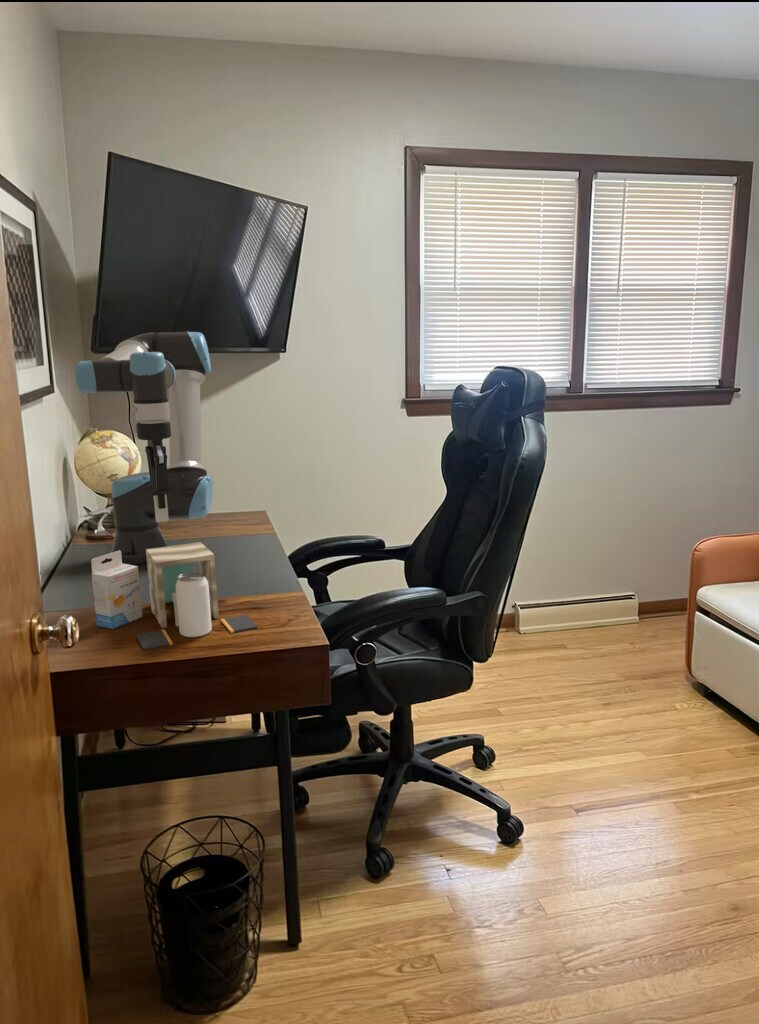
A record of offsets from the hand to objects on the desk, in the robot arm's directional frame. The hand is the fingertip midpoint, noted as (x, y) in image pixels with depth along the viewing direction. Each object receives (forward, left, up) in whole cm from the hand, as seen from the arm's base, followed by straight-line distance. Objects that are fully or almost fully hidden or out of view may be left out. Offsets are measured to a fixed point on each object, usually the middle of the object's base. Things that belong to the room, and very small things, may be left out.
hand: (162, 520), depth 176 cm
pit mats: (+29, -8, -17) cm, 35 cm away
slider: (+17, -5, -17) cm, 24 cm away
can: (+29, -8, -18) cm, 35 cm away
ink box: (+12, -17, -18) cm, 27 cm away
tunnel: (+18, -5, -17) cm, 25 cm away
